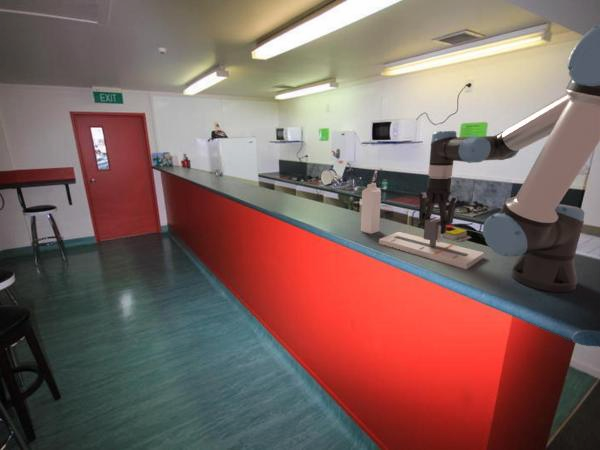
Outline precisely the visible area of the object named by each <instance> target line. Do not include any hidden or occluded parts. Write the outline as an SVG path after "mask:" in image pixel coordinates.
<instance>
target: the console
mask: <svg viewBox="0 0 600 450" xmlns="http://www.w3.org/2000/svg"><path fill="white" fill-rule="evenodd" d="M378 244H379V245H382V246H385V245H386V247H389V248H392V247H393V248H392V249H395V248H396V249H395V250H399V249H400V250H399V251H402V250H403V252H407V253H409V252H410V254H413V255H416V256H419V257H423V258H427V259H430V260H433V261H437V262H441V263H443V264H447V265H450V266H454V267H457V268H460V269H464V270H468V269H470V268H471V267H472V266H474V265H475V264H476V263H478V262H479V261H481V260H483V259H484V256H485V252H483V251H479V250H475V249H473V248H466V247H463V246H458V245H456V244H451V243H447V242H443V241H441V242H439V243H438V242H437V240H436V245H435V246H430V240H425V239H424V237H421V236H417V235H413V234H409V233H406V232H405V233H404V232H401V231H397V232H394V233H392V234H389V235H386V236H383V237H381V238H379V240H378Z"/></svg>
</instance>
